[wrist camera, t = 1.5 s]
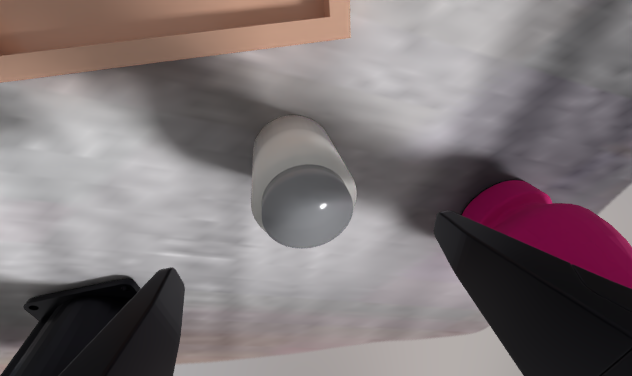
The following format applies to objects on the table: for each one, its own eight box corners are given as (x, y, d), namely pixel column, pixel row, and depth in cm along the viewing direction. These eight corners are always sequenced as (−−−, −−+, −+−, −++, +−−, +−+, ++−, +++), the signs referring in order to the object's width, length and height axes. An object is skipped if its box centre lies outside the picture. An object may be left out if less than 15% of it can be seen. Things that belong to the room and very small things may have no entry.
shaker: (262, 192, 16) (264, 264, 11) (244, 122, 13) (236, 176, 9) (333, 179, 16) (362, 243, 12) (328, 109, 14) (363, 155, 9)
